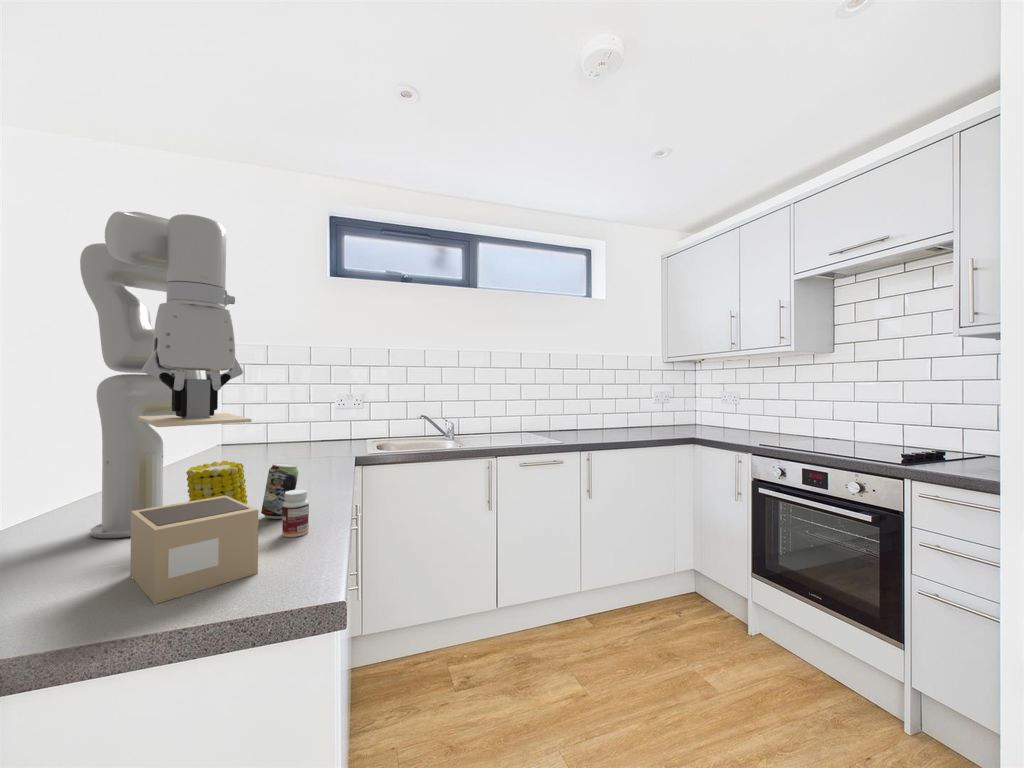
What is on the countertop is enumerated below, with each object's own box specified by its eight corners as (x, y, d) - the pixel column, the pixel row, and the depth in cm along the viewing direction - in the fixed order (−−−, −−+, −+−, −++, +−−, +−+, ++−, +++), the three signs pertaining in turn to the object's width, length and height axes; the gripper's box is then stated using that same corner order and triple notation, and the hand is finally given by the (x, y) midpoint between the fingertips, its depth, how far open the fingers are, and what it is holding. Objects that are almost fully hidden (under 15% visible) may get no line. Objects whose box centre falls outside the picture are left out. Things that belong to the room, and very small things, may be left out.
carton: (130, 575, 69) (130, 510, 69) (225, 551, 79) (225, 494, 79) (154, 604, 60) (155, 529, 60) (258, 573, 70) (258, 509, 70)
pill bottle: (283, 531, 90) (283, 490, 90) (309, 528, 92) (309, 488, 92) (280, 539, 86) (281, 495, 86) (308, 536, 88) (308, 493, 88)
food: (257, 538, 90) (200, 556, 82) (229, 516, 97) (174, 530, 88) (263, 468, 88) (205, 479, 80) (234, 449, 94) (178, 458, 86)
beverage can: (257, 517, 100) (258, 463, 100) (292, 510, 105) (293, 460, 105) (265, 523, 95) (266, 467, 95) (301, 516, 100) (302, 463, 100)
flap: (137, 419, 69) (138, 377, 68) (226, 415, 78) (226, 378, 78) (157, 427, 62) (158, 380, 61) (251, 422, 71) (252, 381, 71)
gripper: (244, 307, 78) (242, 412, 79) (123, 292, 66) (121, 416, 66) (262, 304, 74) (260, 414, 74) (135, 286, 61) (133, 420, 61)
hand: (195, 414), depth 70 cm, fingers closed on flap, 3 cm apart
